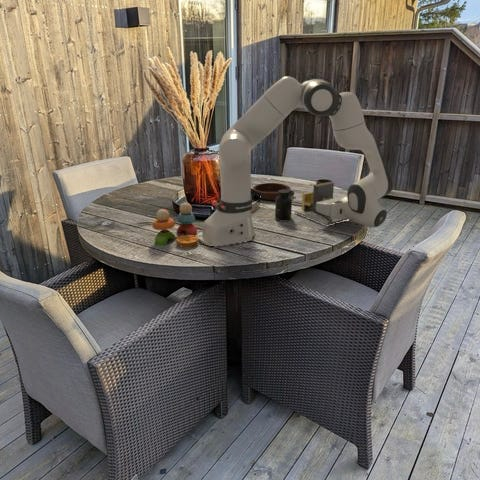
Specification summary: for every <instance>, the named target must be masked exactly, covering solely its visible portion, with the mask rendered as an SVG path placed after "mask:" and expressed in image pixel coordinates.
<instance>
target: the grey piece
mask: <svg viewBox="0 0 480 480" xmlns="http://www.w3.org/2000/svg"><path fill="white" fill-rule="evenodd" d="M309 206H313V191H310V192H309V191H308V192H303V193H302V201H301V208H298V209H295V210H294V214H295V213H297V214H300V215H303V216H305V217H308V218H310V219H313V220H315V221H318V222H321V223H323V224H325V225H329V224H333V223H336V222H340V221H343V220H347V219H332V218H331V216H326V215H323V214H321V213H319V214H317V213H314V212H312V211H311V210H309ZM297 214H296V215H297Z"/></svg>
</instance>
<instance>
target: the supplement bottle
mask: <svg viewBox="0 0 480 480" xmlns="http://www.w3.org/2000/svg"><path fill="white" fill-rule="evenodd" d="M274 204H275V208H274V219H276V220H277V219H278V221H280V220H287V221H289V219H290V220H291V219H292V212H293V211H292V209H293V206H292V205H293V200H292V196H290V191H289V190H279V191H278V197H277V198H276V200H275V203H274Z"/></svg>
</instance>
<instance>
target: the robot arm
mask: <svg viewBox="0 0 480 480" xmlns="http://www.w3.org/2000/svg"><path fill="white" fill-rule="evenodd" d="M300 107H301V108H302V107H303V108H304V110H305V111H307V112H308V113H309V114H311V115H314V116H318V117H329V120H330V122H331V127H332V131H333V136H334V139H335V142H336V143H337V145H338V146H340V147H341V148H343V149H345V150H352V151H353V150H355V151H361V152H362V153H363V154H364V157H365V159H366V162H367V165H368V168H369V173H368V174H367V175H366V176H365V177H363V178H361V179H358V180H357V181H355V182H354V183H352V184H350V185H349V186H348V189H347V193H346V195H342V196H337V197H333V198H330V197H326V198H323V201H320V202H317V203H316V211H317V212H319V213H321V214H323V215H326V216H331V218H332V219H349V220H351V222H356V223H358V224H360V225H363V226H366V227H369V228H377V227H380V226H381V225H382V224H383V223H384V222H385V220H386V219H387V216H388V215H387V214H388V212H387V209H386V208H384V207H382V206H381V205H380V203H379V201H378V200H379V199H380V198H383V197H385V196H387V195H389V194H391V193H392V191H393V188H394V180H393V177H392V175H391V174H390V172H389V170H388V168H387V165H386V162H385V159H384V157H383V153H382V151H381V148H380V145H379V142H378V140H377V139H376V136H375V134H374V133H373V132H372V131H369V129H368V128H367V125H366V122H365V117H364V112H363V110H362V106H361V104H360V101H359V98H358V97H357V95H356V94H355V93H353V92H351V91H344V92H343V91H342V92H338V91H337V89H336V88H335V87H333V86H332V85H331V84H330V83H329V82H328V81H327V80H325V79H322V78H321V79H320V78H311V79H310V78H309V79H307V80H305V81H301V82H299V80H297V78H295V77H292V76H290V75H289V76H288V75H287V76H283V77H282V78H280V79H279V80H277V81H276V82H275V83H274V84H272V85H271V86H270V87H269V88H267V89H266V91H265V92H264V93H263V94H262V95H261V96H260V97H259V98H258V99H257V100H256V101H255V102H254V103H253V104H252V105H251V106H250V108H249V109H248V110H246V112H245V113H244V114H243V115H242V116H240V117H239V119H237V121H236V122H235V123H234V124H233V125H232V126H231V127H229V128H228V130H226V132H225V133H224V134H222V137H221V140H220V142H219V145H218V163H219V164H218V165H219V174H220V175H219V176H220V199H219V202H218V201H216V200H212V202H211V205H212V206H214V207H216V208H217V209H216V210H215V211H214V212H213V213H212V214H211V215H209V217H208V218H206V219H205V220H204V221H203V225H202V232H199V233H198V232H197V234H196V236H197V237H198V242H200V243H201V242H202V243H201V244H203V243H204V244H203V245H205V244H206V245H205V246H207V245H209V246H208V247H210V246H215V247H214V248H217V247H216V246H221V247H224V246H223V245H227V246H230V245H229V244H233V245H236V244H235V243H239V244H241V243H240V242H245V241H250V240H252V241H253V238H254V237H255V235H256V231H255V228H254V225H253V218H252V217H253V216H252V209H253V198H252V196H251V191H252V185H251V184H252V182H251V181H252V177H251V173H252V172H251V170H252V168H251V167H252V165H251V164H252V163H251V159H252V158H251V157H252V156H251V155H252V153H251V151H252V150H253V149H254V148H255V147H256V146H257V145H259V143H260V142H262V141H263V140H264V139H265V138H266V137H268V136H269V135H270V134H271V133H272V132H274V130H275V129H276V128H277V127H279V125H280V124H282V122H283V121H284V120H285V119H286V118H287V117H288V115H290V114H291V113H292V112H293V111H295V109H298V108H300ZM253 236H254V237H253ZM252 237H253V238H252ZM245 243H246V242H245Z"/></svg>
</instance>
